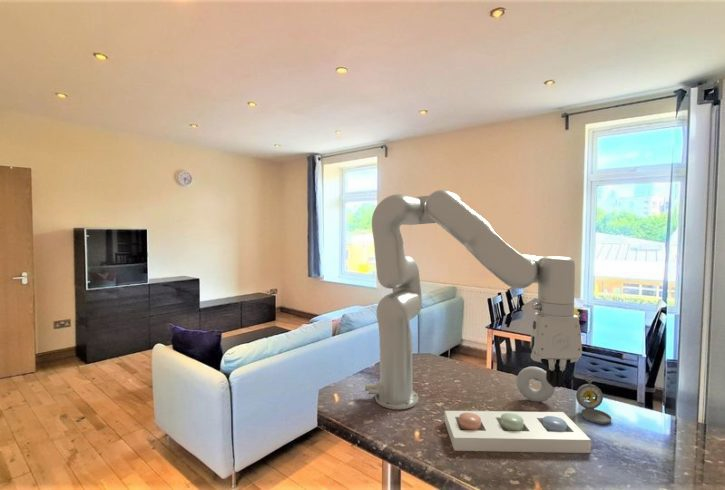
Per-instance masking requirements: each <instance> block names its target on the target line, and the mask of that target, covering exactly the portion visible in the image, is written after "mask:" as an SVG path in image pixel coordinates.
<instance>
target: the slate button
mask: <svg viewBox="0 0 725 490" xmlns="http://www.w3.org/2000/svg"><path fill="white" fill-rule="evenodd" d="M543 427H544V428H545V429H546V430H547V431H548V432H567V423H566V422H565V421H564V420H563V419H561V418H558V417H554V416H546V417H544V418H543Z"/></svg>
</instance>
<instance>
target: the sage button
mask: <svg viewBox="0 0 725 490" xmlns="http://www.w3.org/2000/svg"><path fill="white" fill-rule="evenodd" d="M501 426H502V428H503V430H504V431H523V418H522V417H520V416H519V415H516V414H512V413H505V414H502V415H501Z"/></svg>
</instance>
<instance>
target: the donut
mask: <svg viewBox="0 0 725 490" xmlns="http://www.w3.org/2000/svg"><path fill="white" fill-rule="evenodd" d="M534 379H535V380H538V382H540V383H541V386H540V388H538V389H535V388H532V387H531V385H530V381H531V380H534ZM516 386H517V389H518V391H519V393H520V394H521V395H522V396H523V397H524V398H525V399H527V400H528V401H532V402H535V403H542V402H546V401H548V400H549V399H551V398H552V396H553V394H554V392H555V388H556V387H552V386H551V385H550V384H549V383H548V381H547V380H546V369H545V370H544V369H543V368H541V367H538V366H528V367H524V368H522V369H521V370H520V371H519V373H518V375H517V377H516Z"/></svg>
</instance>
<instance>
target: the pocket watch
mask: <svg viewBox="0 0 725 490" xmlns="http://www.w3.org/2000/svg"><path fill="white" fill-rule="evenodd" d="M587 377H592V378H588V379H586V378H587ZM583 379H584V380H585V381H586V382H587V383H585V384H582V385H581V386H579V387H578V388H577V390H576V393H575V397H576V401H577V403H578V404H579V405H580V406H581V407H583V408H584V409H582V410H581V413H580V414H581V416H582V417H583V418H584V419H586V420H587V421H590V422H592V423H596V424H602V425H604V424H606V425H607V424H610V423H612V421H613V420H612V417H611V415H610V414H608V413H607V412H604V411H603V410H599V409H597V408H598V407H599V406H600V405H601V404H602V402H603V399H604V394H603V392H602V390H601V388H599V387H598V386H597V385H595V384H592V382H594V381H595V377H594V376H593V375H590V374H587V375H585V376H584V377H583ZM591 379H592V380H591Z"/></svg>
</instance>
